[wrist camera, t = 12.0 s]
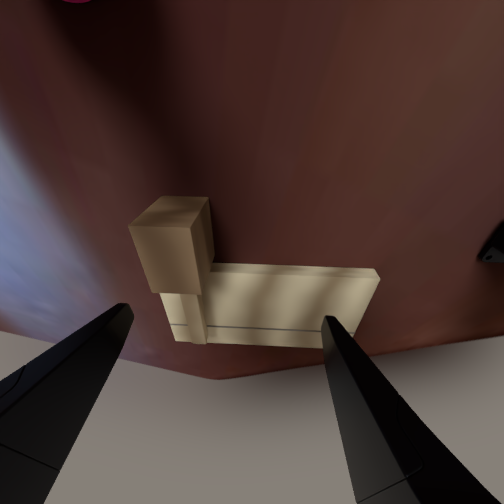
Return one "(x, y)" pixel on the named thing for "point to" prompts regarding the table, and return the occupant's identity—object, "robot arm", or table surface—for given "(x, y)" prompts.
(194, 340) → the wooden mallet
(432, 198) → the table surface
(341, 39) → the table surface
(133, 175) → the table surface
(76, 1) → the pepper mill
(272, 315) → the board
